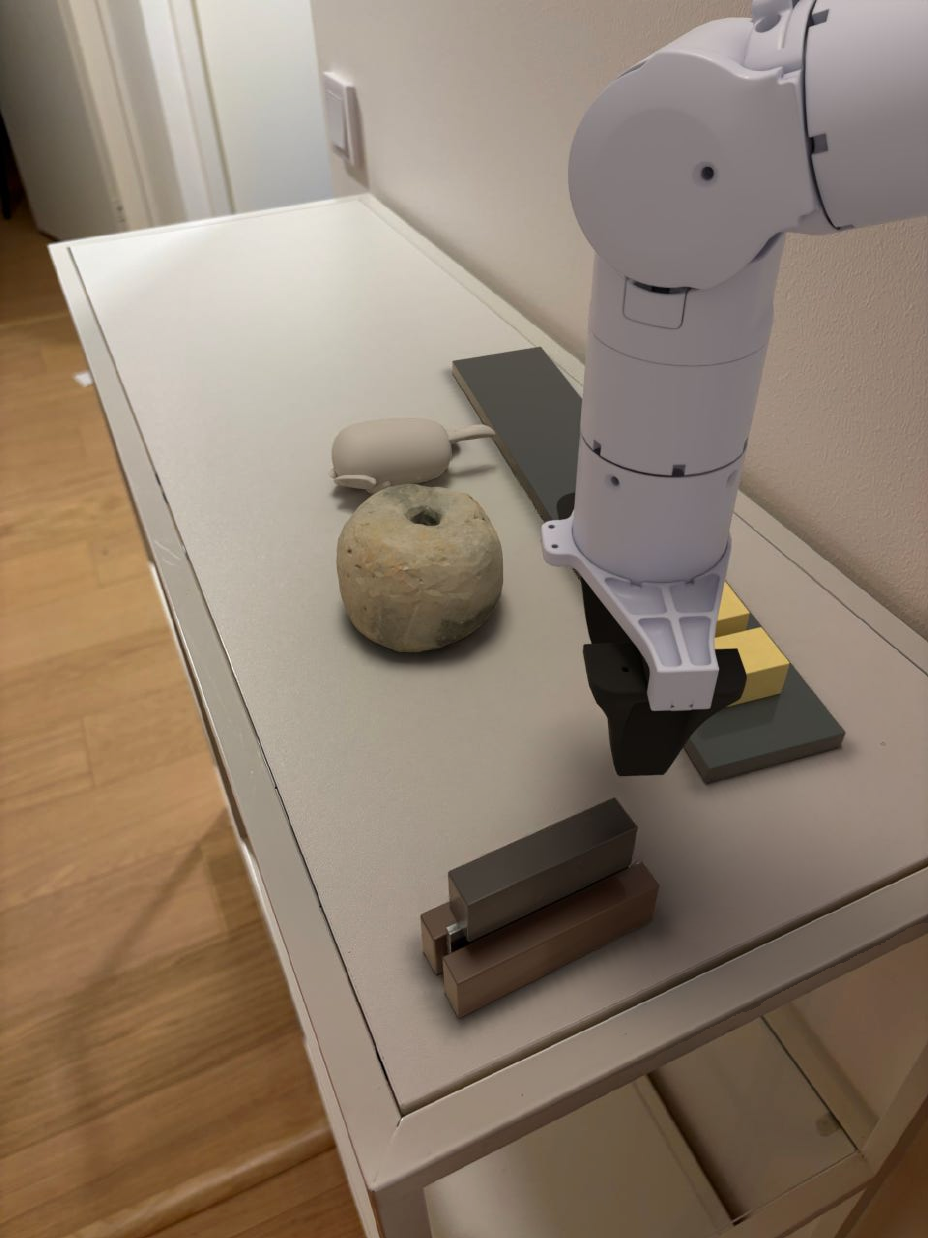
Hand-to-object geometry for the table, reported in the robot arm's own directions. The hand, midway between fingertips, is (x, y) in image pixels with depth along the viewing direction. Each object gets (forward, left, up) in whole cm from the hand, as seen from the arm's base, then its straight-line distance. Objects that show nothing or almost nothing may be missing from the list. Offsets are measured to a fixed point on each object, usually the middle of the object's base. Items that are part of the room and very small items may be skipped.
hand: (625, 700), depth 43 cm
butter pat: (+1, -11, -8) cm, 14 cm away
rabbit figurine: (+31, -13, -9) cm, 34 cm away
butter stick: (+7, -14, -8) cm, 17 cm away
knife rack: (-2, +7, -9) cm, 11 cm away
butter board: (+17, -19, -9) cm, 27 cm away
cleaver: (-2, +7, -9) cm, 11 cm away
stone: (+19, -4, -9) cm, 21 cm away
